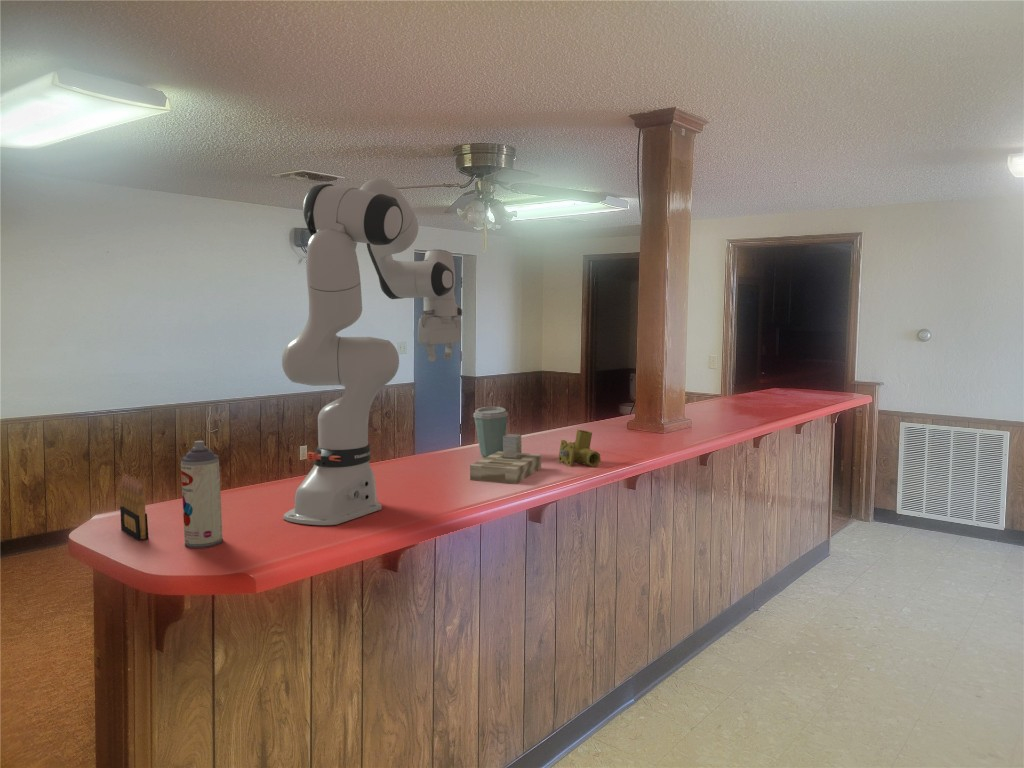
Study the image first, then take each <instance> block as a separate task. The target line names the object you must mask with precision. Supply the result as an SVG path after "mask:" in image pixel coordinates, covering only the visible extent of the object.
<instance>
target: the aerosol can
mask: <svg viewBox="0 0 1024 768" xmlns="http://www.w3.org/2000/svg"><path fill="white" fill-rule="evenodd" d="M180 470H181V471H180V475H181V490H182V491H181V494H182V495H181V496H182V515H183V530H184V531H183V535H184V547H186V548H189V549H204V548H205V549H206V548H211V547H214V546H218V545H219V544H222V543H223V540H224V539H223V519H222V518H223V517H222V497H221V496H222V495H221V493H222V492H221V474H220V473H221V471H220V470H221V469H220V459H219V455H217V454H215V453H214V452H213V450H211V449H209V447H207V446H206V445H205V441H204V440H195V441H194V445H193V447H192V448H191V449H190V450H189V451H188V452H187V453H186V454H185V455H184V456H183V457H181V462H180Z"/></svg>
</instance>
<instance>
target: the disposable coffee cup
mask: <svg viewBox="0 0 1024 768" xmlns="http://www.w3.org/2000/svg"><path fill="white" fill-rule="evenodd" d="M508 416H509V412H508V411H507V410H506V408H504V407H501V406H484V407H480V408H479V407H478V408H477V409H475V410H474V412H473V416H472V417H473V418H474V424H475V430H476V435H477V436H476V437H477V440H478V445H479V453H480V455H481V458H482V459H484V458H486V457H488V456H490V455H492V454H494V453H496V452H498V451H500V452H503V436H505V435H506V431H507V423H508V422H507V421H508Z"/></svg>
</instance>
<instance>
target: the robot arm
mask: <svg viewBox="0 0 1024 768" xmlns="http://www.w3.org/2000/svg"><path fill="white" fill-rule="evenodd" d="M302 209H303V210H302V211H303V212H302V213H303V218H304V222H305V225H306V227H307V230H308V233H309V234H310V237H309V239H308V243H307V247H306V268H305V269H306V282H307V294H308V316H307V317H308V319H307V321H306V324H305V326H304V327H303V330H301V332H300V334H298V335H297V336H296V337H295V338H294V339H293V340H291V341H289V343H287V345H286V347H285V348H284V350H283V352H282V356H281V365H282V369H283V372H284V374H285V376H286V377H287V379H288V380H289V381H290V382H292V383H296V384H301V385H307V386H311V387H312V386H314V387H317V386H318V387H319V386H323V387H324V386H341V387H344V394H343V395H342V396H340V397H338V398H336V399H335V400H333V401H331V402H330V403H327V404H326V405H324V406H323V407H322V408H321V409H320V411H319V413H318V414H317V435H318V436H317V438H318V439H317V440H318V445H317V447H316V451H315V452H312V451H308V452H307V454H306V457H305V458H306V460H307V461H308V462H313V464H314V465H313V467H312V468H311V470H310V471H309V472H308V474H307V475H306V476H305V478H304V479H303V480H302V482H301V483H300V484H299V486H298V487H297V488H296V491H295V494H294V495H295V496H294V508H291V509H290V510H288V511H287V512H285V513H283V518H282V519H283V520H285V521H287V522H290V523H294V524H295V523H296V524H302V525H309V526H310V525H312V526H335V525H336V526H337V525H339V524H343V523H345V522H349V521H351V520H354V519H358V518H360V517H363V516H366V515H369V514H371V513H374V512H377V511H381V510H382V504H381V503H380V502H378V496H377V486H376V485H377V484H376V477H375V473H374V471H373V469H372V468H371V464H370V460H371V451H372V450H371V446H370V444H369V436H368V435H369V416H370V411H371V407H372V404H373V401H374V400H375V398H376V396H377V395H378V393H379V392H380V390H381V389H382V388H383V387H384V386H386V385H387V384H388V383H390V382H391V381H392V379H394V378H395V376H396V374H397V372H398V370H399V367H400V356H399V352H398V350H397V348H396V347H395V345H394V344H393V343H392V342H391V341H390V340H387V339H385V338H384V339H383V338H378V337H374V336H373V337H372V336H338V335H337V334H338V333H339V332H341V331H342V330H345V329H347V328H349V327H351V326H352V325H354V323H356V322H357V321H358V320H359V319H360V317H361V315H362V312H363V300H362V298H363V297H362V286H361V285H362V283H361V274H360V266H359V260H358V255H357V251H356V248H357V245H358V243H363V244H366V249H367V252H368V254H369V257H370V259H371V262H372V265H373V267H374V269H375V272H376V274H377V276H378V277H377V278H378V282H379V286H380V290H381V292H382V293H383V295H386V296H387V297H388V298H389V299H390V300H399V299H419V298H420V299H423V311H422V314H421V315H420V318H419V319H418V325H417V327H418V328H417V342H418V345H419V346H425V350H426V353H427V358H428V360H427V361H428V362H436V361H437V359H438V358H437V357H438V355H437V354H436V352H435V349H436V345H442V344H444V347H445V349H444V352H443V359H444V360H450V359H452V358H453V357H452V353H453V350H454V346H455V345H454V343H459V342H460V341H461V338H462V318H461V317H463V308H461V307H460V306H459V305H458V303H456V301H457V300H456V295H455V286H456V269H455V268H456V267H455V262H454V261H455V260H454V257H453V254H452V253H451V252H450V251H447V250H443V249H430V250H428V251H426V252H425V255H424V259H423V260H416V261H415V260H413V261H410V260H409V261H402V260H395V259H394V258H393V256H392V255H395V254H401V253H403V252H404V251H406V250H407V249H409V247H411V246H412V245H413V244H414V243H415V241H416V239H417V236H418V234H419V222H418V221H419V220H418V218H417V215H416V214H415V212H414V210H413V208H412V207H411V205H410V203H409V202H408V199H406V197H405V196H404V194H402V192H401V191H400V190H399V189H398V188H397V186H395V185H394V184H393V182H391V181H390V180H388V179H385V178H383V177H381V178H378V177H377V178H372V179H370V180H367V181H366V182H364V183H363V185H361V187H360V188H358V187H354V186H346V185H334V184H332V183H323V184H316V185H313V186H312V187H310V189H309V191H308V192H307V194H306V195H305V197H304V200H303V205H302Z"/></svg>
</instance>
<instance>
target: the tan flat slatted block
mask: <svg viewBox="0 0 1024 768" xmlns="http://www.w3.org/2000/svg"><path fill="white" fill-rule="evenodd" d="M541 469H542V454H540V453H539V454H537V453H528V452H527V453H525V452H521V459H520V460H517V459H504V458H503V452H500V451H498V452H496V453H494V454H492V455H490V456H488V457H486V458H481V459H480V460H478V461H476V462H474V463H471V464H470V465H469V480H470V481H477V482H488V483H489V482H490V483H491V482H492V483H499V484H500V483H501V484H502V483H503V484H512V485H513V484H514V485H517V484H519V483H520V482H522V481H524V480H525V479H526V478H528V477H530V476H531V475H533V474H534V473H536V472H538V471H540V470H541Z"/></svg>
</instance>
